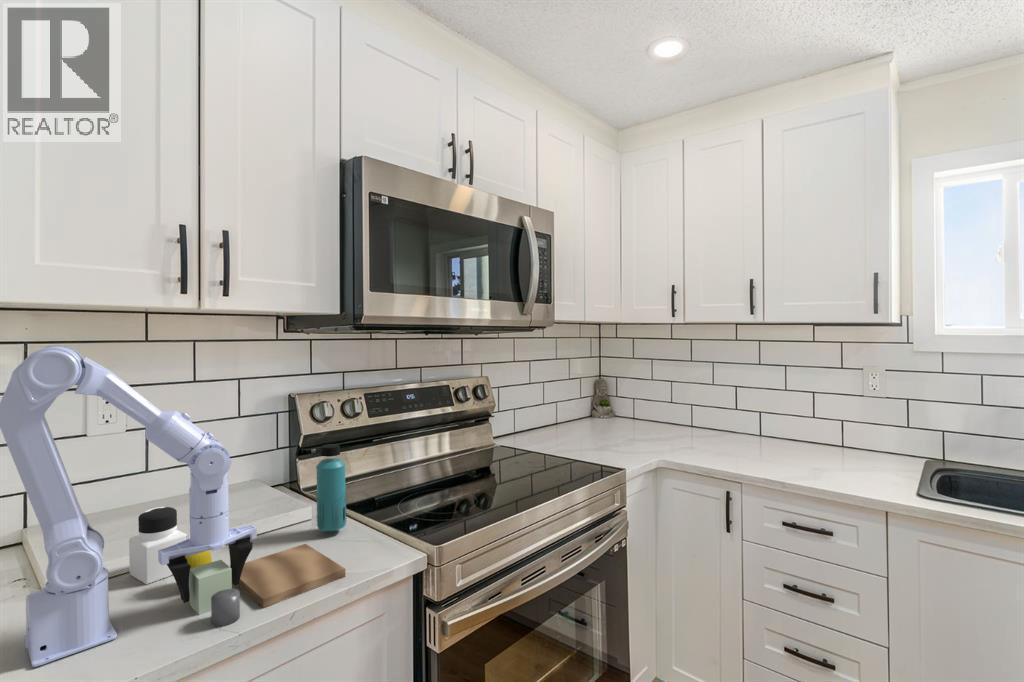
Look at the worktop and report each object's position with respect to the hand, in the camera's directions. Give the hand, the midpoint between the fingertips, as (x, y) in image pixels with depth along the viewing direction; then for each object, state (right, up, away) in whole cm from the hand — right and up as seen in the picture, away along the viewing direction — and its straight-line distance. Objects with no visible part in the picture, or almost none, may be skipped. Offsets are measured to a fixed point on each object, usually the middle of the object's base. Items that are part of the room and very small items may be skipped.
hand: (210, 591), depth 89 cm
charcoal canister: (+5, -2, -5) cm, 7 cm away
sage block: (0, -2, 0) cm, 2 cm away
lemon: (-6, -2, +6) cm, 9 cm away
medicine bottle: (-16, -2, +11) cm, 19 cm away
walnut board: (+9, -2, +10) cm, 13 cm away
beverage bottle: (+10, -1, +30) cm, 32 cm away
